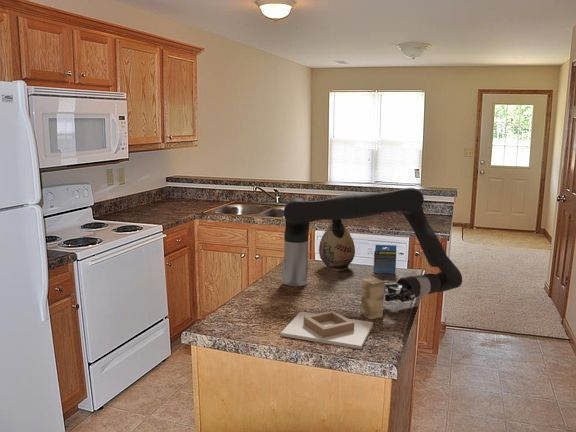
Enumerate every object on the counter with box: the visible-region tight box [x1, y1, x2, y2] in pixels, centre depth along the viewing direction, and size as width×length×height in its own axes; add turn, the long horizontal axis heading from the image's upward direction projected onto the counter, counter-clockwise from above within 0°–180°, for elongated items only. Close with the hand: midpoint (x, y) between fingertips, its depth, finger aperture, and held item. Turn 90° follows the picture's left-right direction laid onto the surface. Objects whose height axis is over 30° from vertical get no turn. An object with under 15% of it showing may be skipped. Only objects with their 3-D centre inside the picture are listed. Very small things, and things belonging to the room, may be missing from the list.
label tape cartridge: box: [372, 244, 397, 275], centre depth 212 cm, size 9×4×12 cm, turn 85°
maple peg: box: [360, 276, 385, 320], centre depth 164 cm, size 5×5×12 cm
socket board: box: [280, 310, 374, 350], centre depth 153 cm, size 24×18×4 cm
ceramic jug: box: [318, 219, 356, 272], centre depth 214 cm, size 17×15×30 cm
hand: (377, 294), depth 165 cm, fingers open, 8 cm apart
